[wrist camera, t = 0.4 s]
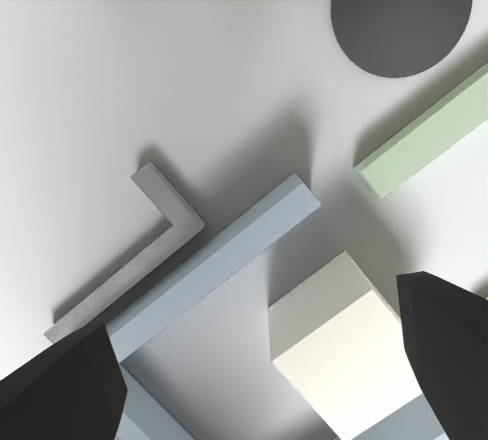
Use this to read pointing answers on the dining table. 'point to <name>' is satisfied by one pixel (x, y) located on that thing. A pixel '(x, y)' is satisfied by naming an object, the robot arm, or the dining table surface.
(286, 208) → the pale blue square frame
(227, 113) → the dining table surface
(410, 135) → the pale green flat block
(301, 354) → the cube
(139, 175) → the crook tool
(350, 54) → the hole marker
